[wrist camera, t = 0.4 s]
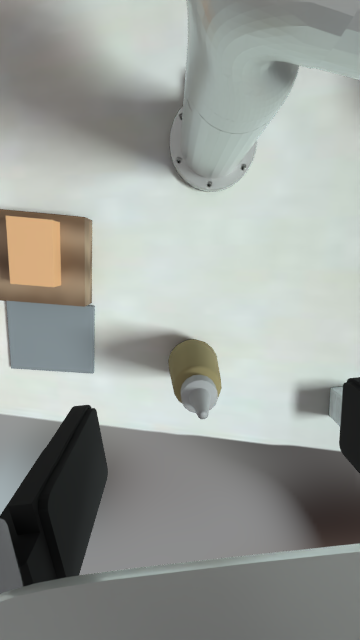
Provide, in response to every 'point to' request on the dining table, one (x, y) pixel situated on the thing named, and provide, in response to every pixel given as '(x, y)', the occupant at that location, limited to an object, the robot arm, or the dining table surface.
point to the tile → (34, 251)
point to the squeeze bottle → (195, 376)
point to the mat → (51, 337)
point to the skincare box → (336, 404)
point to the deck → (72, 263)
